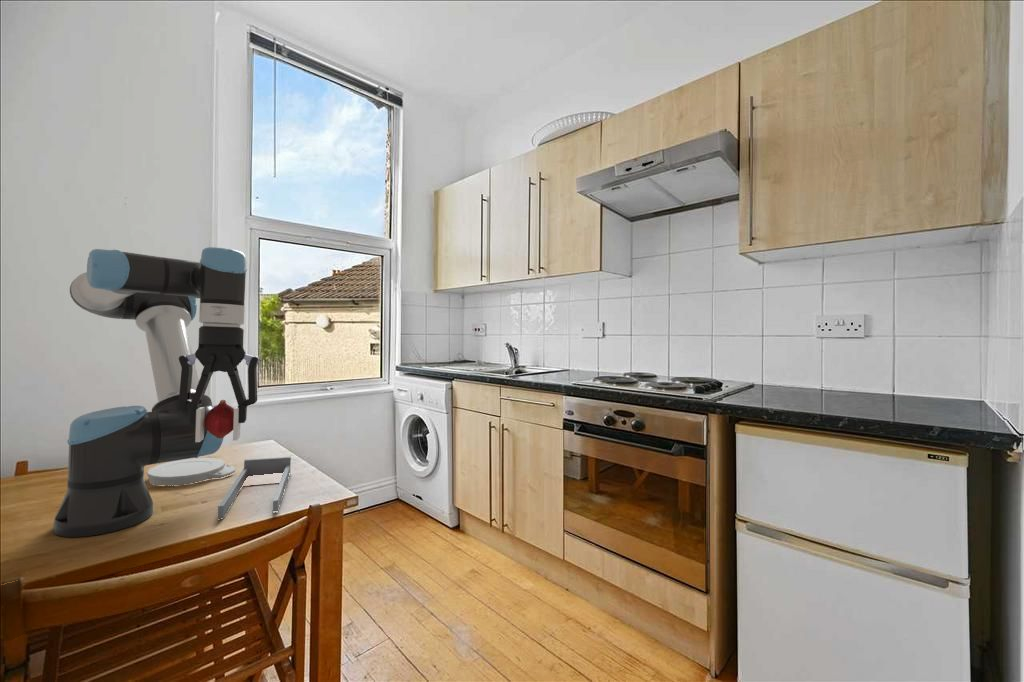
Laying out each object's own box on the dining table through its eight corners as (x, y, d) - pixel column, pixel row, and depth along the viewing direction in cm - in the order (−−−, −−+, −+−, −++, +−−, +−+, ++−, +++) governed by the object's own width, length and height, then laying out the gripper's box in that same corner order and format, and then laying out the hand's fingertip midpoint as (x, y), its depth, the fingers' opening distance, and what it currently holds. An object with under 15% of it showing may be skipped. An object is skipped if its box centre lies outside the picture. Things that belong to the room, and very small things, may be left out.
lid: (223, 485, 113) (223, 474, 113) (131, 490, 108) (132, 478, 108) (244, 466, 130) (244, 456, 130) (165, 469, 124) (166, 459, 124)
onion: (240, 439, 89) (243, 401, 89) (207, 442, 85) (209, 402, 85) (232, 434, 93) (235, 397, 93) (200, 437, 89) (203, 398, 89)
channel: (217, 520, 92) (218, 496, 92) (244, 477, 119) (245, 459, 119) (277, 513, 97) (278, 491, 97) (290, 473, 124) (290, 456, 124)
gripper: (157, 323, 80) (154, 447, 80) (271, 327, 87) (267, 441, 87) (172, 323, 87) (168, 437, 87) (276, 327, 94) (272, 433, 94)
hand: (218, 439), depth 87 cm, fingers closed on onion, 6 cm apart
